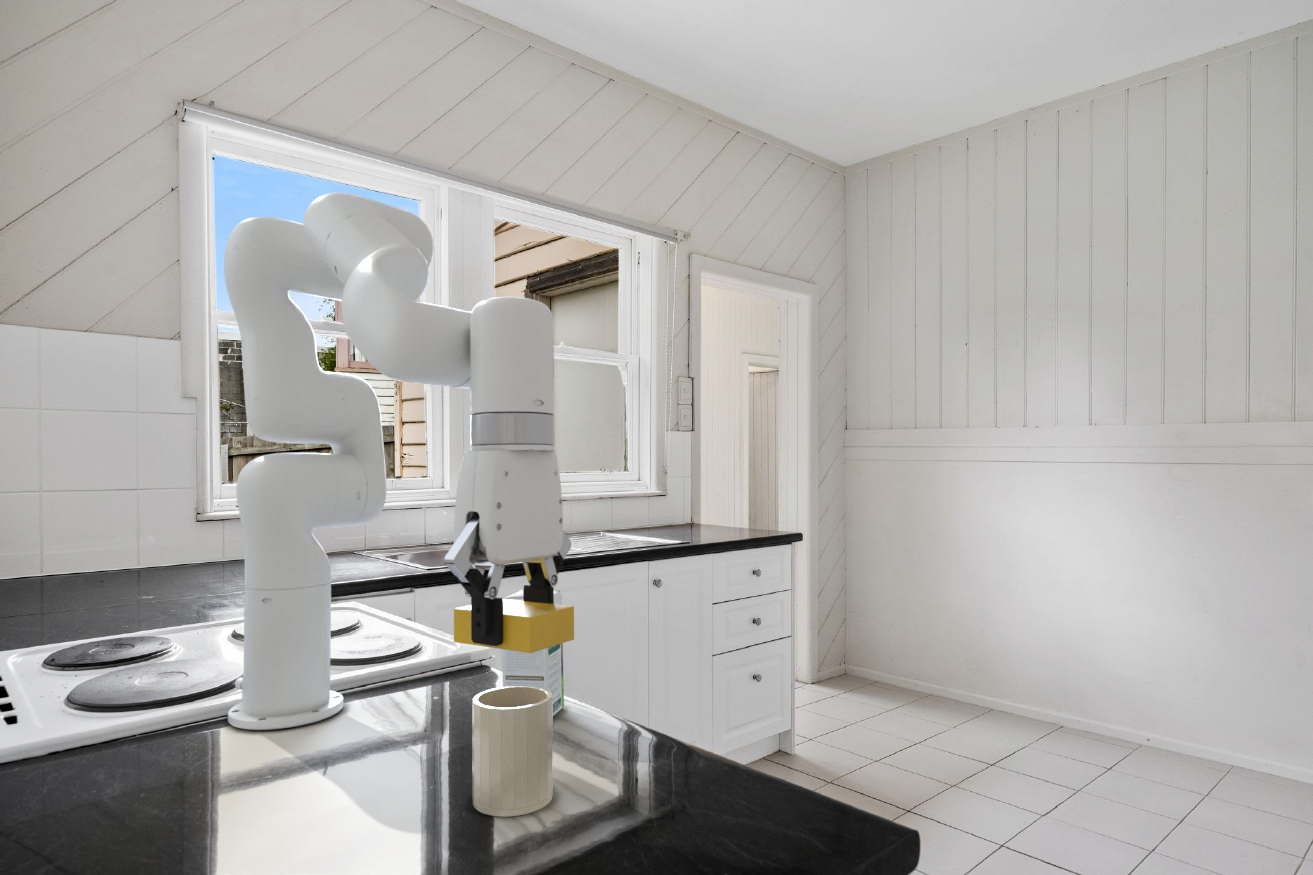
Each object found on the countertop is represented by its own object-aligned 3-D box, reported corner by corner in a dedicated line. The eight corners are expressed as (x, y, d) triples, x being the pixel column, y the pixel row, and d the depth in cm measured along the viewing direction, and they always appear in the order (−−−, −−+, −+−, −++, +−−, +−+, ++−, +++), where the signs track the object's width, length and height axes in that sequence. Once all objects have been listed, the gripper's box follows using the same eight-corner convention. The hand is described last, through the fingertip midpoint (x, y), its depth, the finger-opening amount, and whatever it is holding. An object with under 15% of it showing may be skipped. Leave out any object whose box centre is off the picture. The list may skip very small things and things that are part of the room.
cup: (455, 804, 66) (455, 701, 67) (510, 777, 72) (510, 681, 73) (515, 824, 63) (515, 713, 63) (568, 792, 69) (568, 692, 69)
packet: (453, 642, 68) (453, 608, 68) (500, 629, 73) (500, 598, 73) (530, 653, 63) (530, 617, 63) (574, 639, 68) (574, 605, 68)
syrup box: (548, 723, 88) (548, 596, 88) (500, 720, 89) (500, 595, 89) (564, 707, 93) (564, 589, 94) (519, 705, 94) (519, 588, 95)
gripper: (542, 440, 78) (543, 616, 77) (408, 434, 64) (408, 651, 63) (601, 437, 74) (603, 623, 73) (473, 430, 60) (474, 662, 59)
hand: (513, 634), depth 68 cm, fingers closed on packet, 6 cm apart
